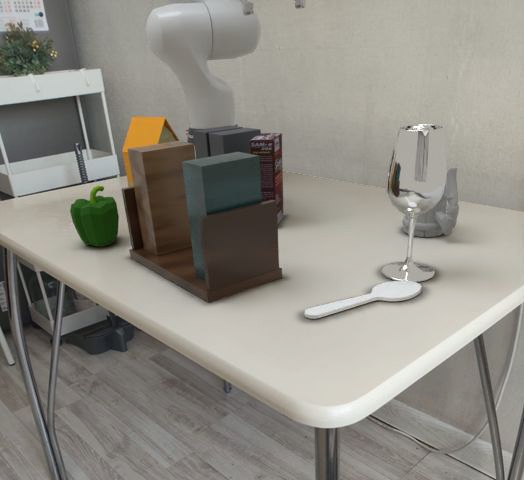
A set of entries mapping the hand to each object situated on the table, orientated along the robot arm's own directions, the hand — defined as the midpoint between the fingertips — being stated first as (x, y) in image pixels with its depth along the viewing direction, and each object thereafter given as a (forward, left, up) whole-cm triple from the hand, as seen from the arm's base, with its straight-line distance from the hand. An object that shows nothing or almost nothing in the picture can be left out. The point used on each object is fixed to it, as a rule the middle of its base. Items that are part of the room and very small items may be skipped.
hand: (274, 11), depth 93 cm
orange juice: (-11, -22, -36) cm, 43 cm away
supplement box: (+3, -6, -36) cm, 36 cm away
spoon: (+42, -19, -35) cm, 58 cm away
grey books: (-10, -6, -35) cm, 37 cm away
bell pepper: (-9, -36, -36) cm, 51 cm away
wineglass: (+39, -8, -36) cm, 54 cm away
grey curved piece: (+30, +9, -36) cm, 48 cm away
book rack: (+15, -29, -35) cm, 48 cm away
